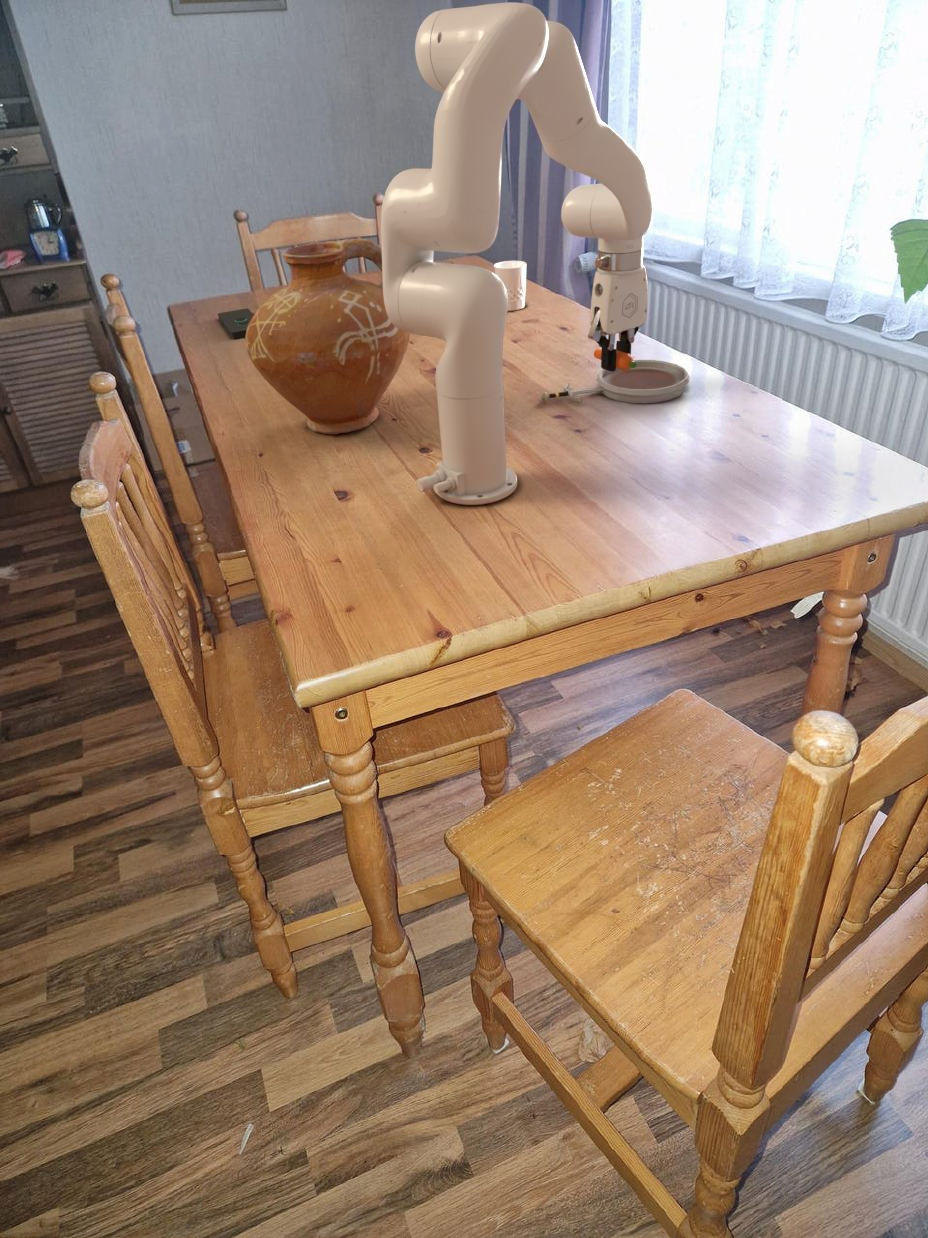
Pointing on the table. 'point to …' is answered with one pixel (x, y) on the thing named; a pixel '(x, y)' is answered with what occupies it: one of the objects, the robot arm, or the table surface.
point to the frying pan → (636, 383)
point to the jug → (328, 337)
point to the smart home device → (236, 322)
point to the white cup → (513, 282)
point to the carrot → (619, 359)
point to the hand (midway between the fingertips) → (615, 365)
